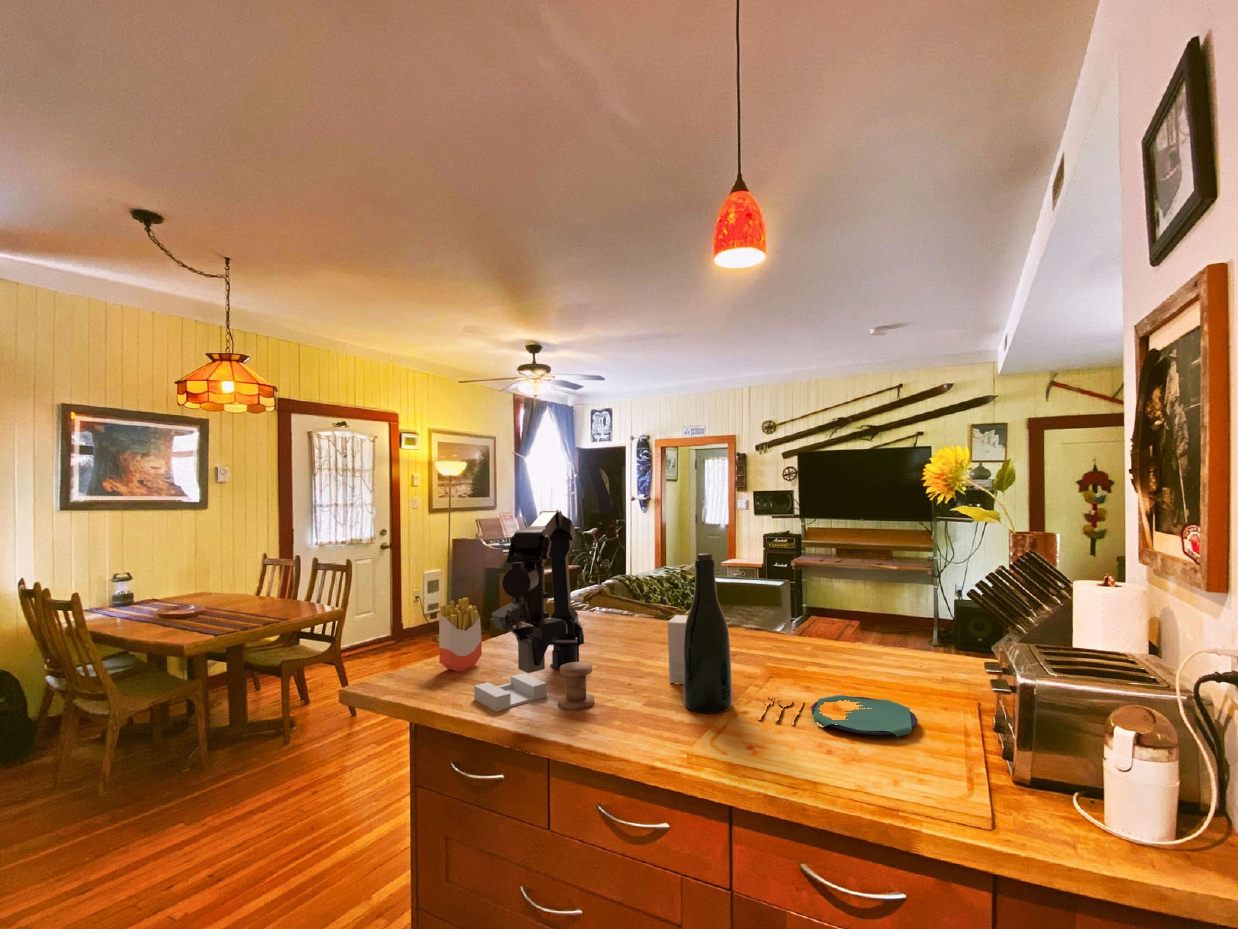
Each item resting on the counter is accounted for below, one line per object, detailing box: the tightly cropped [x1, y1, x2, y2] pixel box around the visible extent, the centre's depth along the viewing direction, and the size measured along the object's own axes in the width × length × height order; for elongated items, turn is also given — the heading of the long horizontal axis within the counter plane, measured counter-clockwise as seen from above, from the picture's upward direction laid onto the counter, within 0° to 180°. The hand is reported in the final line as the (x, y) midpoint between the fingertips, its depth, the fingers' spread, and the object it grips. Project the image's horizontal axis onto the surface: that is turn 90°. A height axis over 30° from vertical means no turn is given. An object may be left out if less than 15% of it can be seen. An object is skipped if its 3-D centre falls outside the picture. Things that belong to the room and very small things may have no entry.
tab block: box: [517, 638, 546, 674], centre depth 123 cm, size 4×4×6 cm
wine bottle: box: [683, 552, 733, 714], centre depth 127 cm, size 10×10×33 cm
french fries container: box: [438, 597, 483, 673], centre depth 156 cm, size 5×11×18 cm, turn 145°
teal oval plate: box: [810, 694, 918, 738], centre depth 119 cm, size 20×30×2 cm, turn 65°
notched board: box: [473, 672, 548, 713], centre depth 133 cm, size 13×10×3 cm
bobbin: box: [557, 661, 595, 711], centre depth 129 cm, size 8×8×8 cm
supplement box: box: [667, 614, 688, 685], centre depth 144 cm, size 9×9×15 cm
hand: (531, 663), depth 123 cm, fingers closed on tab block, 4 cm apart
